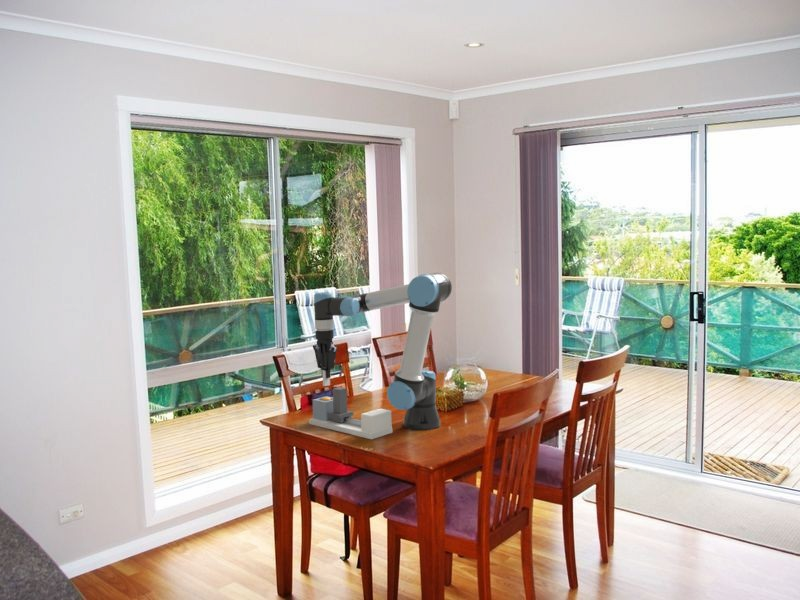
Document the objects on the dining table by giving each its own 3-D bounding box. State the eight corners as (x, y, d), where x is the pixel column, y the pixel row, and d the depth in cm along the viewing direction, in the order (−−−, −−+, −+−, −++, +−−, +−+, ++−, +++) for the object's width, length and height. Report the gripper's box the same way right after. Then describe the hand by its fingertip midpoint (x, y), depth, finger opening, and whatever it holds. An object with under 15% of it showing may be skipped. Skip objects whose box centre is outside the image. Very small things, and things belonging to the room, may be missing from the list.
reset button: (333, 409, 305) (333, 397, 304) (326, 411, 302) (325, 399, 301) (326, 408, 308) (326, 396, 307) (319, 409, 304) (318, 398, 304)
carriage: (353, 419, 300) (352, 387, 299) (339, 423, 294) (338, 391, 293) (341, 416, 305) (340, 385, 303) (327, 420, 299) (326, 388, 297)
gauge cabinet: (340, 417, 305) (339, 398, 305) (325, 421, 299) (325, 402, 299) (327, 414, 311) (326, 396, 310) (313, 418, 305) (312, 399, 304)
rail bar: (372, 427, 289) (372, 422, 288) (369, 428, 287) (369, 423, 287) (334, 418, 303) (334, 414, 303) (331, 419, 302) (331, 415, 301)
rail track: (392, 432, 289) (392, 410, 288) (371, 439, 280) (371, 416, 279) (330, 418, 312) (330, 397, 311) (309, 423, 303) (309, 402, 302)
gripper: (341, 329, 300) (343, 385, 302) (320, 327, 308) (322, 382, 311) (328, 331, 294) (330, 388, 296) (307, 329, 303) (309, 385, 305)
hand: (326, 385), depth 303 cm, fingers closed
